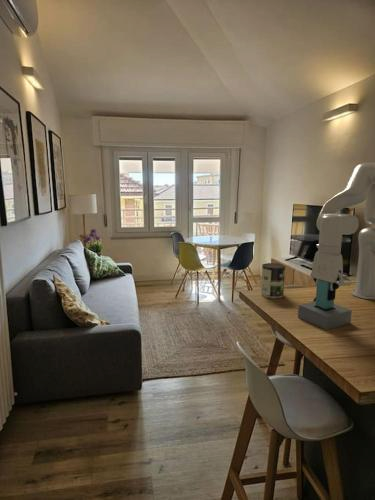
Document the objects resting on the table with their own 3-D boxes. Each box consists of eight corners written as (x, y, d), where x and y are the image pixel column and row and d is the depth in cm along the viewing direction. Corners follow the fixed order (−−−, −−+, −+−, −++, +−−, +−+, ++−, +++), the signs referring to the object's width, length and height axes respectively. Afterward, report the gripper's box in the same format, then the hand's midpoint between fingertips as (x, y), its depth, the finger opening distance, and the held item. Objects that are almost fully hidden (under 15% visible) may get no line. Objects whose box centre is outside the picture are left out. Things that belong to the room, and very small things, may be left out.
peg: (315, 305, 120) (317, 279, 119) (323, 303, 122) (325, 278, 121) (325, 308, 117) (327, 282, 115) (333, 306, 119) (335, 280, 117)
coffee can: (285, 293, 152) (287, 264, 149) (280, 299, 143) (282, 269, 140) (264, 290, 157) (265, 262, 154) (258, 296, 148) (259, 266, 146)
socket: (297, 317, 123) (298, 304, 122) (321, 311, 129) (322, 299, 128) (326, 330, 112) (327, 316, 111) (350, 323, 118) (351, 310, 117)
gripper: (303, 246, 121) (300, 293, 125) (343, 254, 107) (338, 306, 110) (317, 245, 125) (314, 290, 128) (357, 252, 110) (352, 303, 113)
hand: (325, 297), depth 119 cm, fingers closed on peg, 4 cm apart
